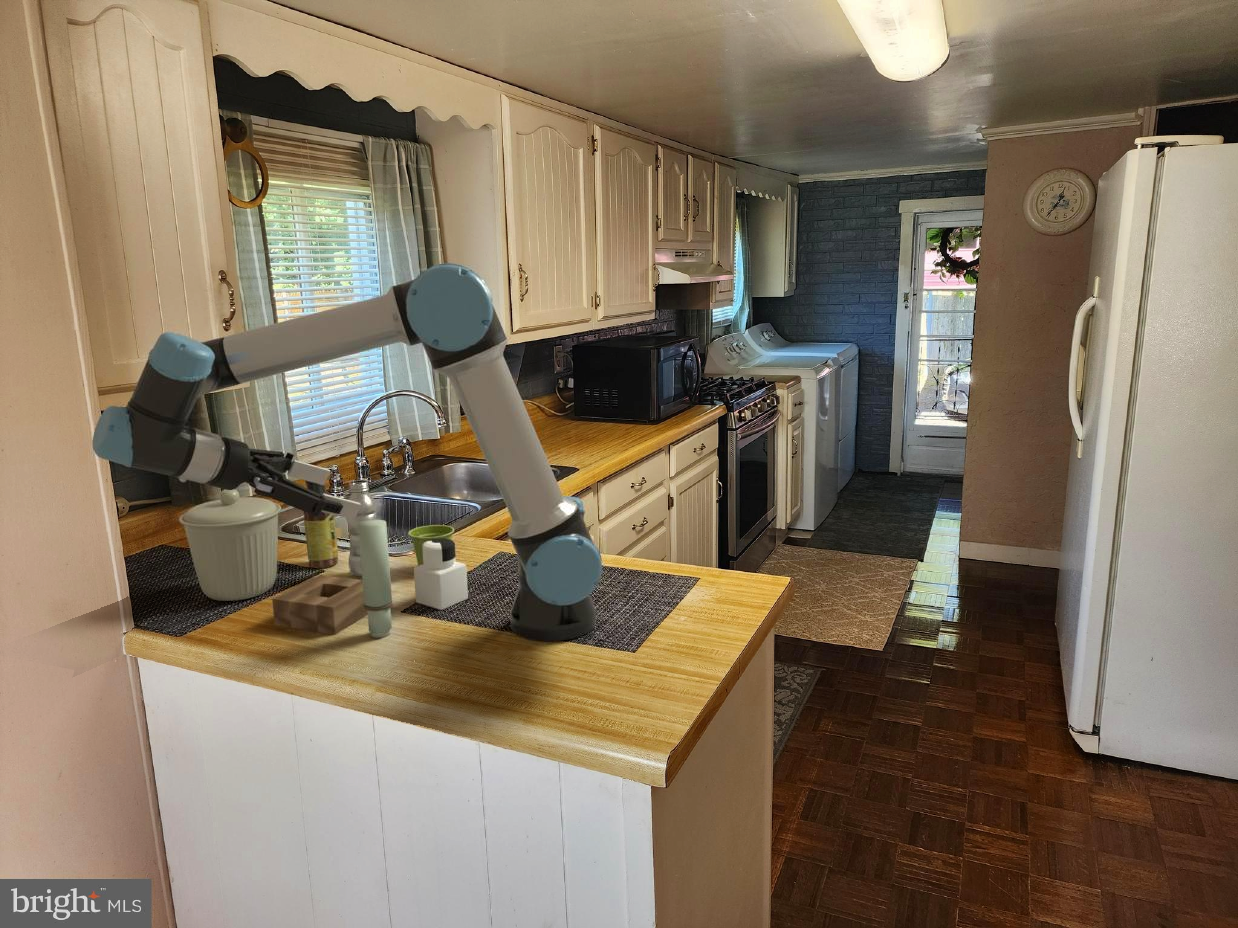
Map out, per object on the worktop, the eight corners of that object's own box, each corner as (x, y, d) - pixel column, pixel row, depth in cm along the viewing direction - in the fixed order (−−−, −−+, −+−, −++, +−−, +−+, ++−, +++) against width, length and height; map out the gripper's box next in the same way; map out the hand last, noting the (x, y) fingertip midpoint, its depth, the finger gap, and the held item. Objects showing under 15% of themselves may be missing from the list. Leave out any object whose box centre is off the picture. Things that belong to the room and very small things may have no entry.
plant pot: (403, 569, 180) (400, 530, 178) (442, 559, 186) (440, 521, 184) (424, 581, 173) (421, 540, 171) (464, 570, 179) (462, 531, 177)
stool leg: (400, 630, 148) (392, 520, 144) (384, 641, 144) (375, 528, 140) (377, 627, 150) (368, 518, 146) (361, 637, 145) (351, 525, 141)
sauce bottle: (341, 566, 182) (333, 476, 178) (310, 571, 180) (301, 480, 175) (336, 557, 188) (328, 470, 184) (306, 562, 185) (298, 474, 181)
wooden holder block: (379, 607, 159) (377, 582, 158) (335, 634, 147) (333, 607, 146) (322, 599, 163) (320, 575, 162) (274, 625, 151) (272, 598, 150)
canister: (236, 573, 179) (225, 476, 175) (308, 581, 174) (298, 481, 169) (167, 603, 162) (153, 497, 158) (245, 613, 157) (232, 504, 152)
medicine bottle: (443, 591, 167) (439, 533, 164) (468, 598, 163) (465, 539, 160) (415, 602, 161) (410, 542, 158) (441, 610, 157) (437, 549, 154)
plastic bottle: (369, 567, 181) (362, 476, 177) (388, 574, 177) (381, 481, 173) (343, 575, 176) (335, 482, 172) (362, 582, 172) (354, 487, 168)
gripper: (183, 451, 134) (306, 483, 149) (226, 518, 117) (360, 547, 132) (202, 408, 133) (323, 445, 148) (248, 470, 116) (381, 505, 131)
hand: (341, 493), depth 140 cm, fingers open, 13 cm apart
